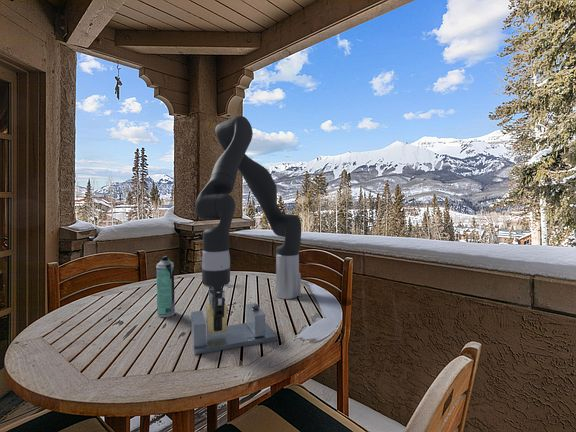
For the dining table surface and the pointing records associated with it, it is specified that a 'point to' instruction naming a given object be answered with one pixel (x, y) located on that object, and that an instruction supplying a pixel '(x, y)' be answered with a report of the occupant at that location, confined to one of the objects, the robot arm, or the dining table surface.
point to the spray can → (165, 288)
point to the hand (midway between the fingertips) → (216, 327)
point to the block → (211, 320)
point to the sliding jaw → (255, 319)
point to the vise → (224, 336)
